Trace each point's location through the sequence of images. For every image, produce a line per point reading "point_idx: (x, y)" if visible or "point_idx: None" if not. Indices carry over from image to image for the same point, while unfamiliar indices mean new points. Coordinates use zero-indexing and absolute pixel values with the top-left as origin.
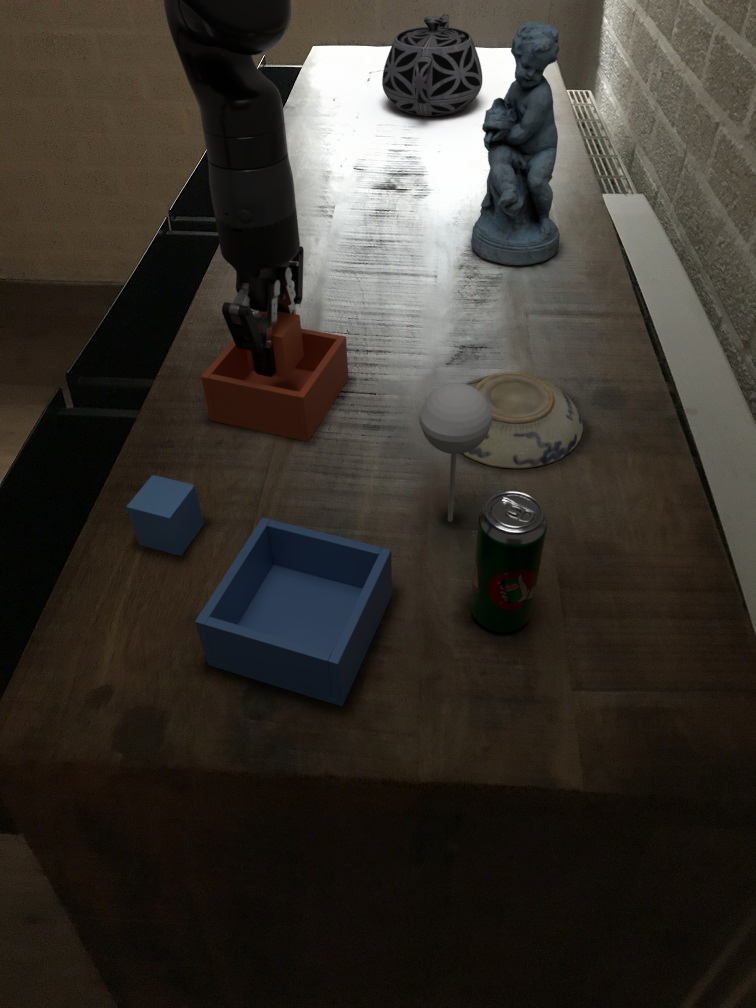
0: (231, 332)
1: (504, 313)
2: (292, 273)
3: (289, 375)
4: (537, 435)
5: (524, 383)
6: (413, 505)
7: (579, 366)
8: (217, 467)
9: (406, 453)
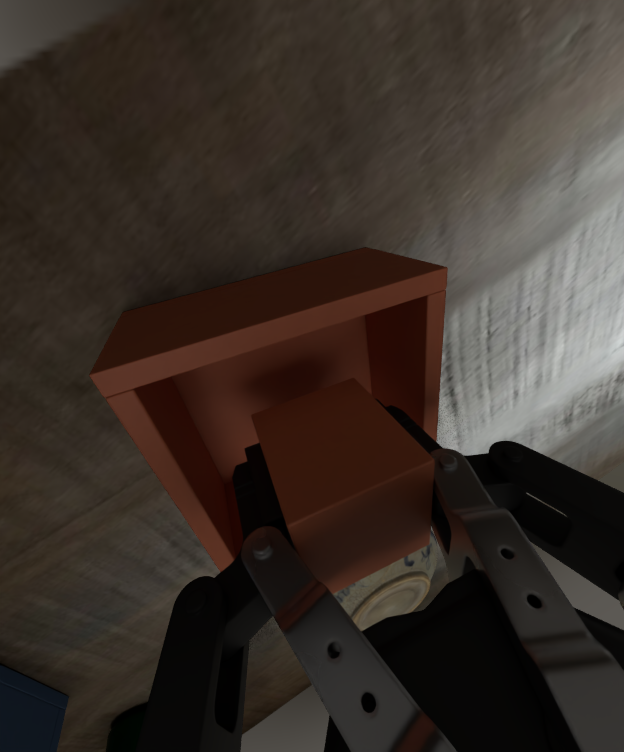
0: (139, 746)
1: (545, 451)
2: (595, 567)
3: (343, 359)
4: None
5: (415, 596)
6: None
7: None
8: (18, 442)
9: None
